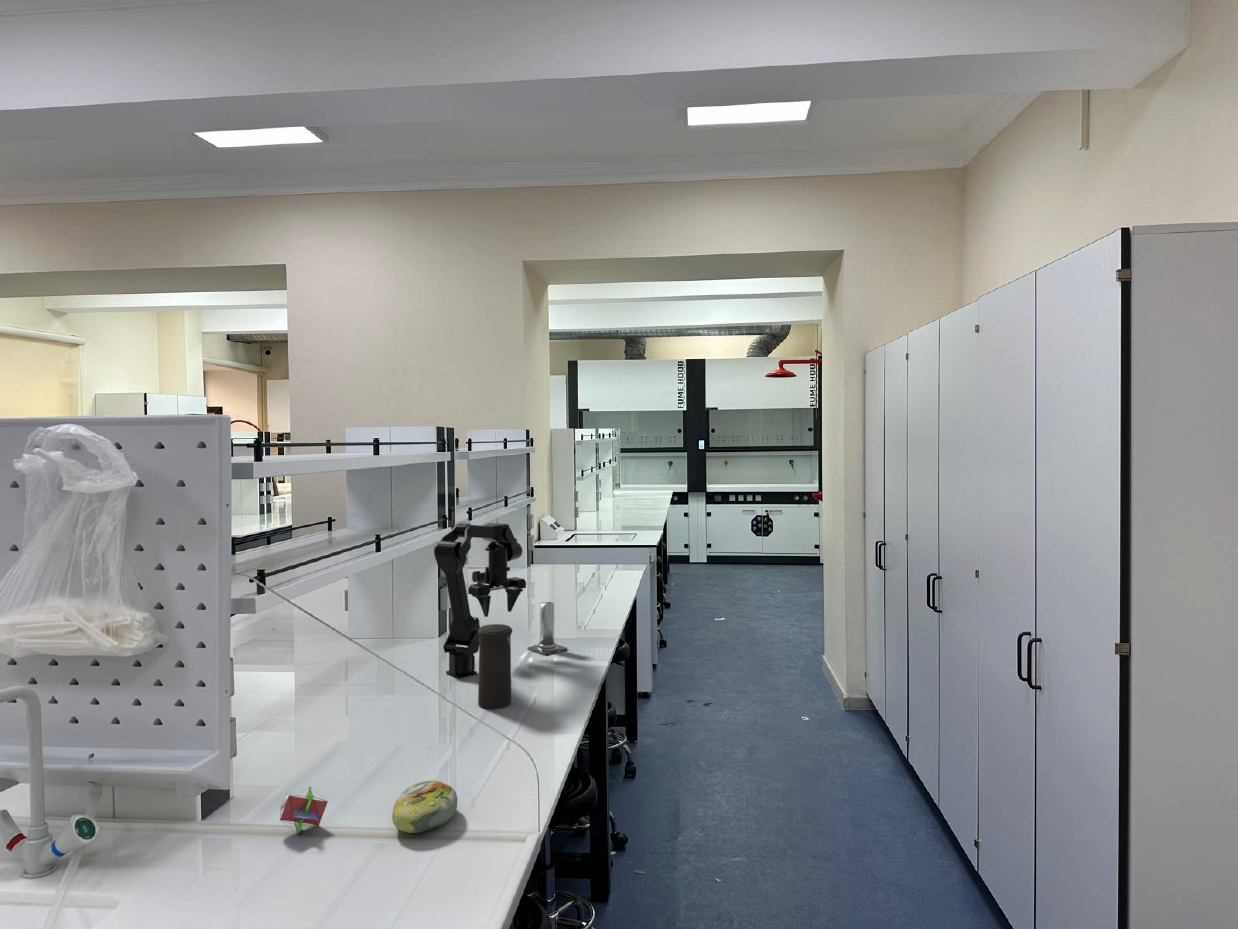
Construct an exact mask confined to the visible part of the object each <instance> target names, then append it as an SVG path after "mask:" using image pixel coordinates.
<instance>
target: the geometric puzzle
mask: <svg viewBox="0 0 1238 929" xmlns="http://www.w3.org/2000/svg"><path fill="white" fill-rule="evenodd" d="M306 788H307V789H305V788H304V789H302V791H303V792H305V791H306V790H308V791H307V794H306V795H305V798H304V797H302V796H299V795H300V794H302V792H300V793H299V794H297V795H296V796H295V795H286V797H285V798H284V799H283V800H282V802H281V805H280V813H279V821H281V822H285V823H287V824H288V823H289V824H290V825H295V830H296V835H297V837H299V836H300V835H302V833H305V831H308V830H309V828H311V827H312V826H318V825H319V826H320V823H321V821H322V818H323V815H324V812H325V810H326V807H327V804H328V803H329V801H328V800H326V799H321V798H323V796H321V795H320V797H321V798H319V797H316V796H314V795H313V792H312V787H306ZM314 792H316V793H317V791H315V790H314ZM296 793H298V791H296V792H295V794H296ZM314 798H316V799H314ZM318 799H319V800H318ZM292 822H293V823H292ZM304 824H305V825H309V827H308V828H306V829H305V830H303V831H302V832H300V831H301V829H302V826H303V825H304ZM285 826H286V827H288V826H287V825H286V824H285ZM288 828H289V827H288ZM292 832H294V830H292ZM294 833H295V832H294Z"/></svg>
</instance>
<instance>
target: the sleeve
mask: <svg viewBox="0 0 1238 929" xmlns="http://www.w3.org/2000/svg"><path fill="white" fill-rule="evenodd" d="M539 606H540V607H539V612H540V614H539V616H540V617H539V620H540V621H539V642H537V643H538V644H537V645H538V648H539V649H543V650H550V649H554V648H556V642H555V603H554V602H552V601H545V602H543V601H542V602H540V603H539Z"/></svg>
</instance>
